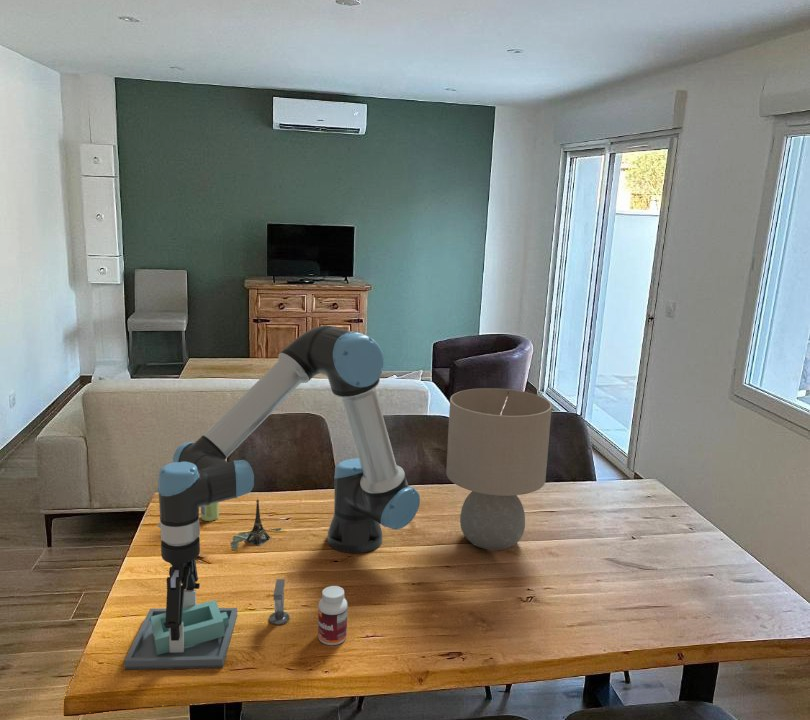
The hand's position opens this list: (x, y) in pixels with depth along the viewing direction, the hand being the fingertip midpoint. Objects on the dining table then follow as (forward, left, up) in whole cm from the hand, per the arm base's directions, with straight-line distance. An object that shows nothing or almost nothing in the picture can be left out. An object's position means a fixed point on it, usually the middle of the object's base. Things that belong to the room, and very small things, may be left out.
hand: (183, 634), depth 146 cm
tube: (+6, -58, -2) cm, 59 cm away
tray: (0, 0, -2) cm, 2 cm away
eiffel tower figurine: (-10, -46, -2) cm, 47 cm away
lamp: (-74, -43, -2) cm, 86 cm away
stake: (-19, -7, -2) cm, 21 cm away
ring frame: (-1, 0, 0) cm, 1 cm away
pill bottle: (-31, 0, -2) cm, 31 cm away
